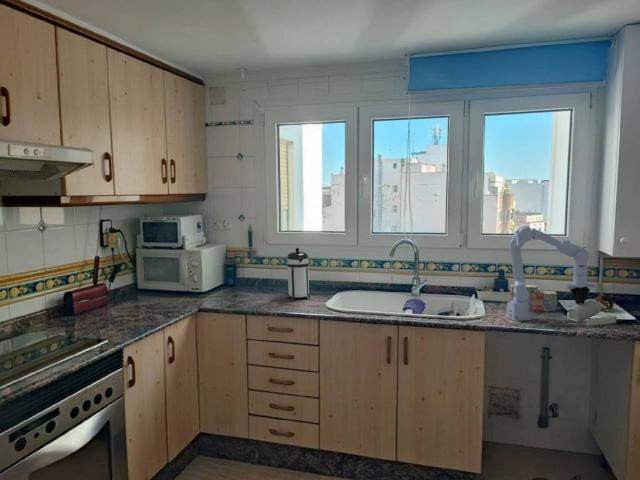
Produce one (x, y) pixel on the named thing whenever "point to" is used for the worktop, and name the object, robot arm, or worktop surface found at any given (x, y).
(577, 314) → the can
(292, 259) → the coffee press
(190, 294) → the worktop surface
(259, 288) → the worktop surface
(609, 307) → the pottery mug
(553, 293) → the stack of blocks
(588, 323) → the tray
